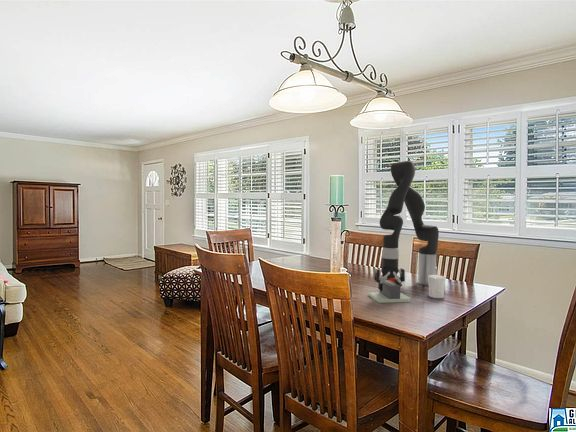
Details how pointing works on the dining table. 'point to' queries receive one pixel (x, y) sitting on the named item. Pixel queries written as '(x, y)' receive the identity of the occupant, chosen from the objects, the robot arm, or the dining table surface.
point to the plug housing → (390, 289)
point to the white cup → (436, 286)
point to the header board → (382, 299)
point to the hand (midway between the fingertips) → (389, 290)
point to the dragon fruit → (393, 280)
